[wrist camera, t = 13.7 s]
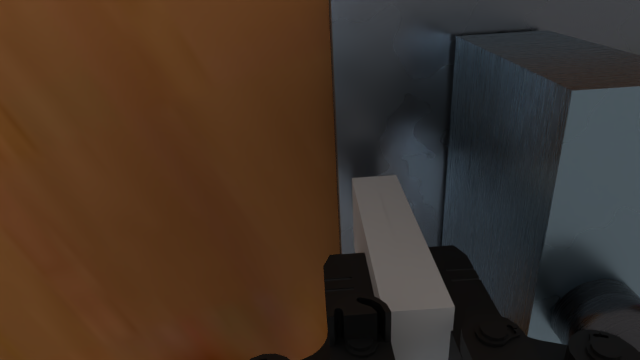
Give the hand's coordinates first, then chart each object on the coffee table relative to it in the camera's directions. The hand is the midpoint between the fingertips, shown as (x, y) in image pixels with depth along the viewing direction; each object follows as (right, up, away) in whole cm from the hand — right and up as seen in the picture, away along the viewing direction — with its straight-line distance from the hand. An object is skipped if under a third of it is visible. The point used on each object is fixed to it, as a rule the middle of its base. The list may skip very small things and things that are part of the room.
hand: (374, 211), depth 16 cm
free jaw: (+5, +1, +1) cm, 5 cm away
